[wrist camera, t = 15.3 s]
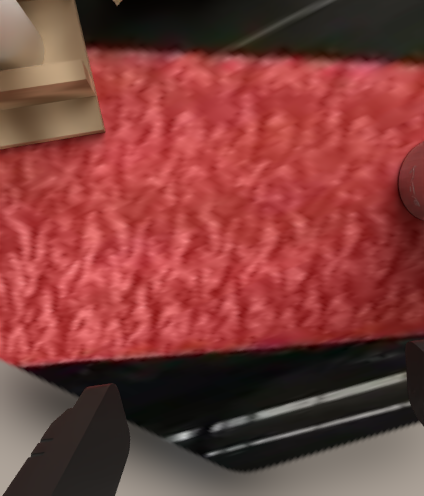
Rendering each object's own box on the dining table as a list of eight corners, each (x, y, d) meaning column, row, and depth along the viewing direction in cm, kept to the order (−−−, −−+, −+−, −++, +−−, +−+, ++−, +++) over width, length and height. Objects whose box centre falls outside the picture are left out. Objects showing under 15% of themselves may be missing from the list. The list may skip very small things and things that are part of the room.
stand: (62, -52, 30) (43, -104, 25) (105, 131, 32) (95, 117, 27) (-83, -38, 28) (-134, -89, 24) (-28, 153, 31) (-64, 143, 26)
